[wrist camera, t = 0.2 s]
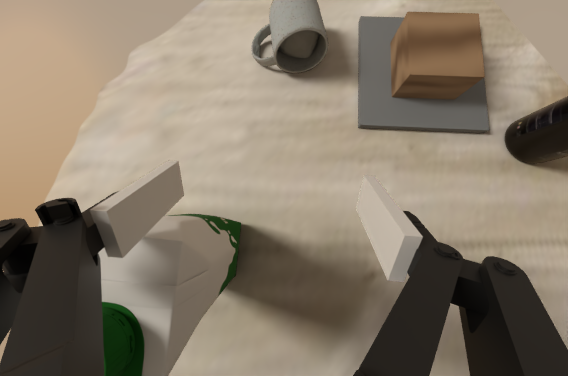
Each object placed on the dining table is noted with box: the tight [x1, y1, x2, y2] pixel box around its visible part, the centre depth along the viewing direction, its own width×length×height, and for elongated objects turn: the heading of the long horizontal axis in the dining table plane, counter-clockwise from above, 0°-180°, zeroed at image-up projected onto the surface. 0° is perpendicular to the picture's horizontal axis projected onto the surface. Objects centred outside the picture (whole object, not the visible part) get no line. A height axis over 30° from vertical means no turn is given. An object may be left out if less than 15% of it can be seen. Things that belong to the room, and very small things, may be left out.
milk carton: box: [98, 214, 241, 376], centre depth 20 cm, size 9×9×20 cm
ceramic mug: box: [252, 0, 328, 73], centre depth 31 cm, size 11×8×8 cm
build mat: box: [358, 16, 489, 133], centre depth 33 cm, size 18×18×1 cm
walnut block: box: [390, 12, 485, 100], centre depth 30 cm, size 9×9×5 cm
